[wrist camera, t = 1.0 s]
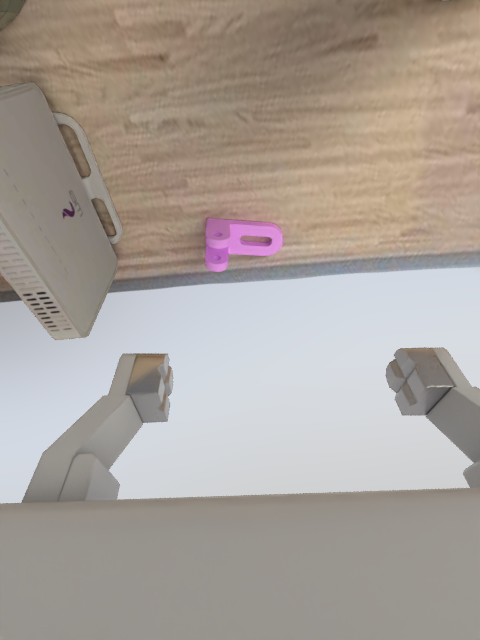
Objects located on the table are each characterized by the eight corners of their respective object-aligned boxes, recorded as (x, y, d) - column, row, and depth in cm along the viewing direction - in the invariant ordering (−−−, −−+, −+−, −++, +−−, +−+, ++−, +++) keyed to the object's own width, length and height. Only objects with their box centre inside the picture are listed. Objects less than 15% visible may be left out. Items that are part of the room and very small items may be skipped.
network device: (134, 257, 54) (102, 341, 40) (87, 262, 54) (38, 347, 40) (62, 76, 36) (-45, 108, 22) (-8, 85, 36) (-158, 123, 22)
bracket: (206, 247, 53) (204, 270, 48) (207, 217, 49) (205, 239, 44) (278, 252, 54) (284, 275, 49) (285, 223, 50) (291, 245, 45)
